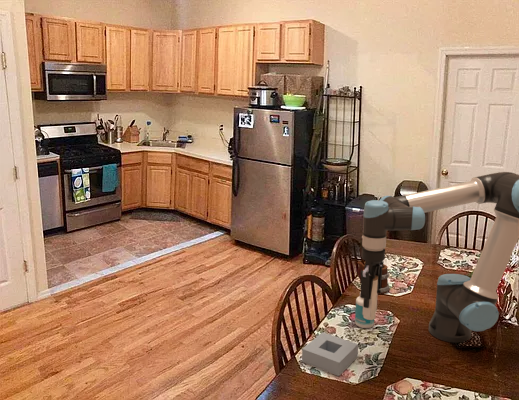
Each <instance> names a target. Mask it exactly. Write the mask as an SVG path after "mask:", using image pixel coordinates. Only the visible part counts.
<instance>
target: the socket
mask: <svg viewBox="0 0 519 400" xmlns="http://www.w3.org/2000/svg"><path fill="white" fill-rule="evenodd" d="M358 350H359V344H358V343H356V342H353V341H350V340H348V339H344V338H341V337H338V336H335V335H332V334H331V333H326V332H324V331H323V332H321V333H320V334H318V335H317V336H316V337H315V338H314V339H312V340H311V341H310V342H309V343H308V344H307V345H305V346H304V347H303V348H302V349H301V362H302V363H303V364H307V365H309V366H312V367H313V368H317V369H319V370H322V371H324V372H326V373H329V374H332V375H335V376H336V377H340V376H341V374H343V373H344V371H346V369H347V368H348V367H349V366H350V365H351V364H353V362H354V361H355V360H356V359H357V358H358V355H359V354H358V353H359V351H358Z"/></svg>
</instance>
